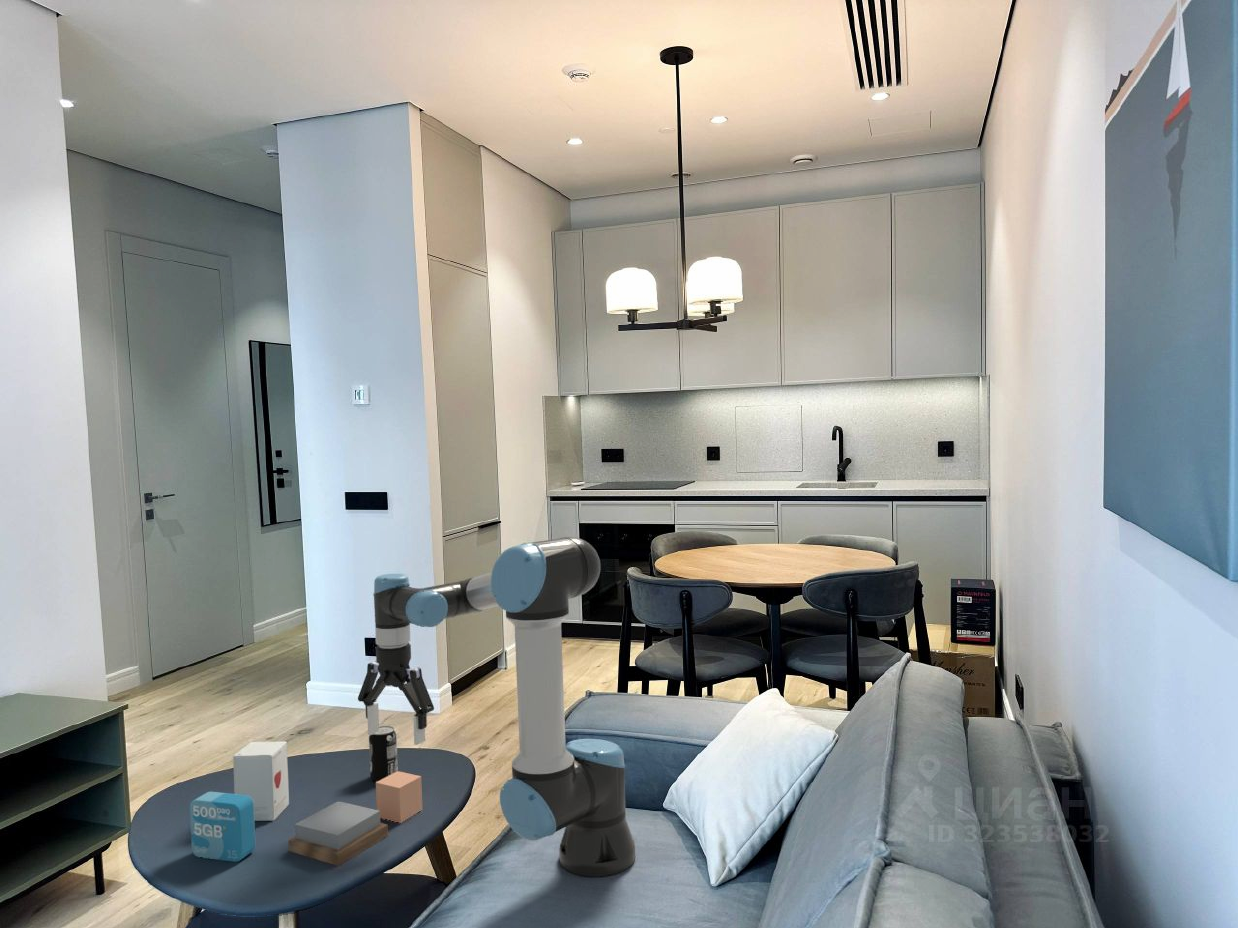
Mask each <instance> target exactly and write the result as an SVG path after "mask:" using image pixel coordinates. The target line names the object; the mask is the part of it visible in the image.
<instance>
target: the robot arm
mask: <svg viewBox="0 0 1238 928" xmlns="http://www.w3.org/2000/svg"><path fill="white" fill-rule="evenodd" d="M600 573H601V559H600V557H599V555H598V552H597V550H596V549H595V548H594V547H593V546H592V544H590V543H589V542H587V541H586V540H584V539H582V538H579V537H573V536H564V537H559V538H555V539H554V538H553V539H547V540H540V541H533V542H524V543H521V544H519V545H515V546H511V547H509V548H506V549H504V551H502V553H501V554H500V556H499V557H497V558H496V561H495V563H494V564H493V567H492V571H490V572H488V573H484V574H481V575H477V576H474V577H470V578H467V579H463V580H458V581H453V582H449V583H443V584H439V585H432V586H428V587H424V588H423V587H421V588H417V587H411V584H410V580H409V577H408V576H407V574H404V573H386V574H381V575H379V576H376V578H375V579H374V583H373V584H374V585H373V589H374V590H373V593H372V594H373V605H374V623H375V625H374V626H375V645H377V646H376V647H375V658H376V659H375V661H372V662H368V663H367V667H366V673H365V677H364V680H363V683H362V686H361V689H360V691H359V693H358V696H357V701H358V702H362V703H363V704H364V706H365V718H366V719H367V734H368V735H369V736H370V735H372V734H374V733H376V732H379V727H380V721H379V720H380V719H379V718H380V715H379V714H380V713H379V703H378V702H377V700H378V698H379V696H380V695H381V694H382V692H384V691H383V690H385V688H386V687H390V686H391V687H394V688H398V689H399V691H402V692H403V694H404V696H405V698H406V699H407V701H408V702H409V704H410V706H411V708H412V709H413V711H414V712H415V714H413V717H412V718H413V720H412V721H413V744H414V746H415V745H416V746H417V745H419V744H422V743H424V742H425V741H426V728H427V726H428V719H427V714H428V713H430V712H432V711H434V709H435V707H434V704H433V701H432V699H431V696H430V694H429V691H428V688H427V686H426V683H425V681H424V678H423V673H422V668H421V667H415V668H411V667H410V661H411V659H412V648H411V647H412V645H411V644H410V641H411V624H413V625H415V626H417V627H422V628H426V627H427V628H433V627H436V626H437V627H438V625H440V624H441V623H442V622H443V621H444V620H446V619H451V618H455V617H458V616H460V617H461V616H464V615H469V614H474V613H479V612H482V611H485V610H488V609H491V608H495V607H500V608H501V609H502V610H503V611H505V617H506V619H507V620H508V621H509V622H510V623H511V624H512V625H513V626H514V639H515V640H514V641H515V642H514V643H515V644H514V645H515V665H516V666H515V667H516V668H515V669H516V671H515V672H516V689H517V691H516V693H517V716H518V717H517V718H518V746H519V748H518V749H519V752H518V754H516V755H515V757H513V759H512V761H511V773H512V774H511V775H512V776H511V778H510V779H507V780H506V781H505V783H504V784H503V786H501V788H500V791H499V802H500V803H499V804H500V809H501V811H502V814H503V816H504V818H505V820H506V822H507V823H508V825H509V826H510V828H511V829H512V831H513V832H514V833H516V835H518V836H519V837H521V838H522V839H524V840H527V841H531V842H532V841H535V842H536V841H539V840H542V839H543V838H546V837H552V836H553V835H554V834H555V833H556V832H558V831H560V830H562V829H563V830H564V831H563V834H562V838H561V841H560V843H559V844H560V845H559V849H558V850H559V851H558V852H559V853H558V855H559V863H560V865H561V867H563V868H564V869H565V870H566V871H568V872H570V873H572V874H575V875H577V876H582V877H590V878H591V877H594V878H596V877H605V876H606V877H607V876H611V875H615V874H618V873H621V872H623V871H625V870H627V869H629V868H630V867H631V866H632V865H633V864H634V862H635V860H636V844H635V841H634V839H633V836H632V832H631V830H630V826H629V824H628V821H627V817H626V815H627V814H626V772H625V771H626V769H625V768H626V764H625V760H624V759H625V757H624V752H623V751H624V750H623V749H622V747H621V746H620V745H618V744H616V743H615V742H612V741H610V740H604V739H598V738H579V739H574V740H570V741H569V742H567V743H566V723H565V694H564V693H565V692H564V667H563V666H564V665H563V639H562V623H563V622H564V621H565V619H566V618H567V617H568V616H569V613H570V610H569V607H570V605H569V600H570V599H573V598H577V597H580V596H582V595H585V594H587V592H589V591H590V590H591V589H592V588H594V587H595V585H596V583H598V580H599V578H600ZM378 675H379V677H378ZM377 677H378V678H377Z"/></svg>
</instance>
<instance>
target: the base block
mask: <svg viewBox="0 0 1238 928" xmlns="http://www.w3.org/2000/svg"><path fill="white" fill-rule="evenodd" d="M380 823H381V825H379V826H378V827H376V828H374V829H373V830H371V831H369V832H368V833H366V834H364V835H363V836H361V837H359V838H358V839H356V840H354V841H353V842H351V843H349V844H348V845H346V846H344V847H343V848H341V849H339V850H337V849H333V848H329V847H326V846H322V845H318V844H314V843H311V842H307V841H303V840H299V839H296V836H293V837H291V838H289V839H288V852H291V853H294V854H297V855H300V856H304V857H307V858H309V859H310V858H311V859H314V860H318V861H320V862H323V863H328V864H331V865H334V866H337V867H339V866H341V865H342V864H344V863H346V862H347V861H349V860H350V859H352V858H354V857H356V856H357V855H359V854H360V853H362V852H364V851H365V850H367V849H369V848H371V847H372V846H373V845H375V844H377V843H378V842H380V841H382V840H384V839H385V838H387V837H389V825H388V824H386V823H383V822H380ZM386 836H387V837H386ZM384 837H385V838H384ZM383 838H384V839H383Z"/></svg>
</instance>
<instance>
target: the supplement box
mask: <svg viewBox="0 0 1238 928" xmlns="http://www.w3.org/2000/svg"><path fill="white" fill-rule="evenodd" d="M232 759H233V762H232V763H233V785H234V786H233V788H234V790H233V791H234V793H233V794H240V795H248V796H250V797H251V798H252V800H253V803H254V822H259V821H261V822H264V821H265V822H266V821H271V822H274V821H275V820H276V819H277V818H278V817H279V816H280V815H281V813H282V812H283V811H284V810H285V809H286V808H287V807H288V806H289V805H290V796H289V795H290V794H289V791H290V790H289V789H290V788H289V767H288V743H287V741H251V742H249V743H248V744H246V745H245V746H244V747H242V748H240V750H239V751H238V752H236V753H235V754H234V755H233V756H232Z"/></svg>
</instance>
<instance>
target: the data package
mask: <svg viewBox="0 0 1238 928" xmlns="http://www.w3.org/2000/svg"><path fill="white" fill-rule="evenodd" d="M189 815H190V816H189V817H190V818H189V819H190V839H191V851H192V854H193V855H194V856H195V857H197V858H200V857H203V858H202V859H208V858H209V859H210V860H218V861H223V862H232V863H233V862H234V863H238V862H240V861H241V860H243V859H244V858H246V857H247V856H249V854H251V853H252V852H254V850H255V849H256V828H255V827H256V826H255V825H256V824H255V823H256V822H255V821H254V803H253V800H252V798H251V797H250V796H248V795H240V794H234V793H228V792H219V791H207V792H206V793H204V794H202V795H200V796H199V797H197V798H195V799H194V800H193V799H192V801H191V802H190V804H189ZM209 859H208V860H209Z"/></svg>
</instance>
